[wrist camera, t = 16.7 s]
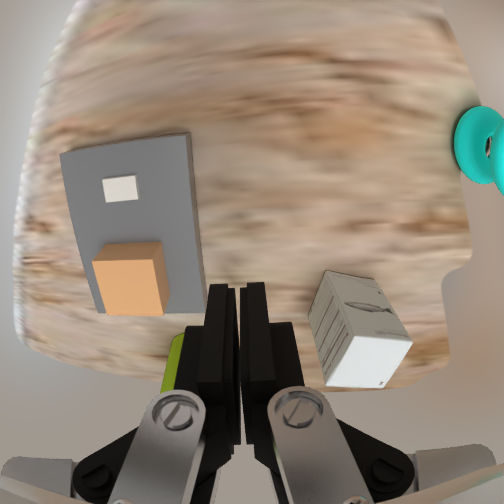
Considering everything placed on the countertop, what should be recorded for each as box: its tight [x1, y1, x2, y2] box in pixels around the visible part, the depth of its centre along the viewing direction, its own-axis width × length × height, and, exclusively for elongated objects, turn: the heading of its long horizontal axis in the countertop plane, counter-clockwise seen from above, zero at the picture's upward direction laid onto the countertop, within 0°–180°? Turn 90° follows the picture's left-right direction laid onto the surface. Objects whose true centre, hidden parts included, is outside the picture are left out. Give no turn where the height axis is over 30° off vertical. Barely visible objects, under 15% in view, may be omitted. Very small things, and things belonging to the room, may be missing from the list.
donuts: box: [454, 106, 504, 195], centre depth 27 cm, size 10×10×10 cm
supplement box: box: [308, 270, 413, 388], centre depth 35 cm, size 7×7×13 cm
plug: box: [92, 242, 170, 316], centre depth 34 cm, size 7×7×7 cm
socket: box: [59, 133, 207, 313], centre depth 34 cm, size 20×14×4 cm
